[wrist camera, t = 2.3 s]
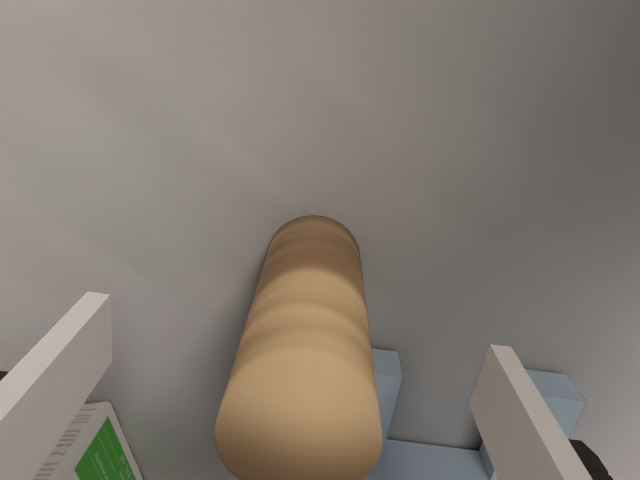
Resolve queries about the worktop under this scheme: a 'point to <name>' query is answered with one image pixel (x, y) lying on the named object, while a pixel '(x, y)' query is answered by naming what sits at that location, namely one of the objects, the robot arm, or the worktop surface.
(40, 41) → the worktop surface
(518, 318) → the worktop surface
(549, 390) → the fork block
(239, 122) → the worktop surface
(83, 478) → the skincare box
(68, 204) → the worktop surface
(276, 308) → the dowel
